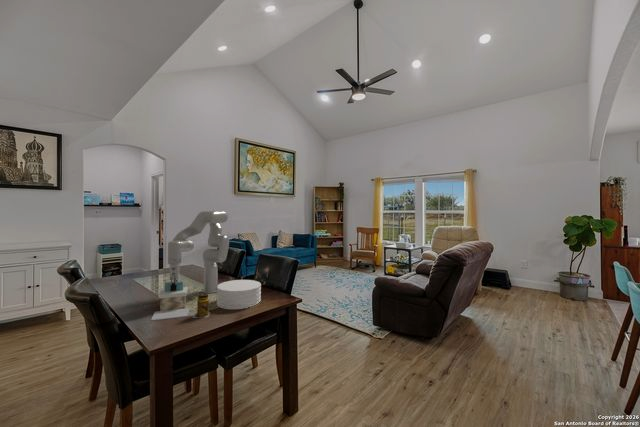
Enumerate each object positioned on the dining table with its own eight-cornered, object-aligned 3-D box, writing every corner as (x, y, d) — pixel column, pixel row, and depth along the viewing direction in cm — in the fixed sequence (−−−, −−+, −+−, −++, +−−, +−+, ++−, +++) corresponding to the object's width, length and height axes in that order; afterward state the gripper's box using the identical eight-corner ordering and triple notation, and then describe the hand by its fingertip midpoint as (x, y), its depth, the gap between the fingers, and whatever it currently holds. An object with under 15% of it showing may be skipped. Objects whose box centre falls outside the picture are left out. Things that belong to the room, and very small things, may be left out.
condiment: (208, 317, 154) (208, 296, 154) (191, 318, 152) (192, 297, 152) (210, 312, 161) (210, 292, 161) (194, 313, 159) (195, 293, 159)
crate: (185, 301, 179) (186, 288, 179) (184, 308, 167) (184, 293, 167) (163, 304, 174) (163, 290, 174) (160, 311, 162) (160, 295, 162)
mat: (189, 309, 167) (189, 308, 167) (187, 316, 155) (187, 315, 155) (154, 312, 159) (154, 311, 159) (151, 321, 147) (151, 319, 147)
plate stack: (269, 302, 182) (269, 285, 182) (230, 313, 162) (231, 293, 162) (245, 293, 201) (246, 277, 201) (208, 302, 181) (209, 284, 180)
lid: (187, 289, 180) (187, 278, 180) (186, 296, 167) (186, 284, 167) (162, 291, 175) (162, 280, 175) (158, 298, 161) (158, 286, 161)
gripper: (180, 263, 164) (179, 292, 164) (182, 258, 180) (181, 285, 180) (165, 263, 161) (165, 293, 161) (169, 258, 177) (168, 286, 177)
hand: (174, 289), depth 171 cm, fingers open, 7 cm apart
